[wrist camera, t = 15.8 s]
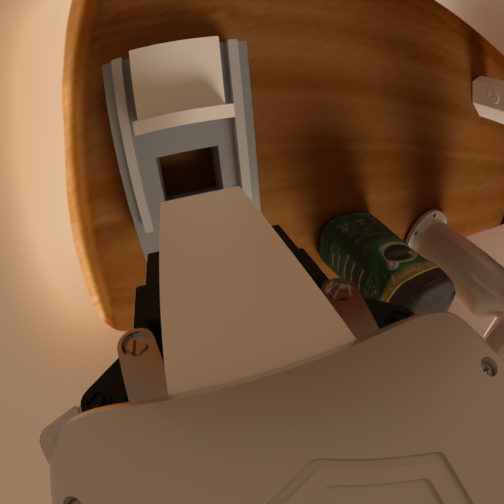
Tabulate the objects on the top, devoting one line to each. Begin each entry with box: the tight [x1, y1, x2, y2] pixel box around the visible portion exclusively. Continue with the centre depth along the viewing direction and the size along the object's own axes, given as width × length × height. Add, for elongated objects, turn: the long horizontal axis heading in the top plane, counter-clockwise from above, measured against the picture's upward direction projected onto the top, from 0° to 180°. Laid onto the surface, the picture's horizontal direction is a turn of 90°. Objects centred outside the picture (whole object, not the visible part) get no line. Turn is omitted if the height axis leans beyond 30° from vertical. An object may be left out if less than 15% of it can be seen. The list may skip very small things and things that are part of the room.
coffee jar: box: [319, 212, 456, 314], centre depth 30 cm, size 10×8×19 cm
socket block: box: [102, 39, 261, 262], centre depth 23 cm, size 19×12×6 cm, turn 4°
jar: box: [472, 76, 504, 124], centre depth 26 cm, size 9×8×12 cm
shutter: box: [129, 36, 235, 136], centre depth 16 cm, size 7×7×4 cm
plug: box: [159, 186, 356, 395], centre depth 9 cm, size 4×4×14 cm
